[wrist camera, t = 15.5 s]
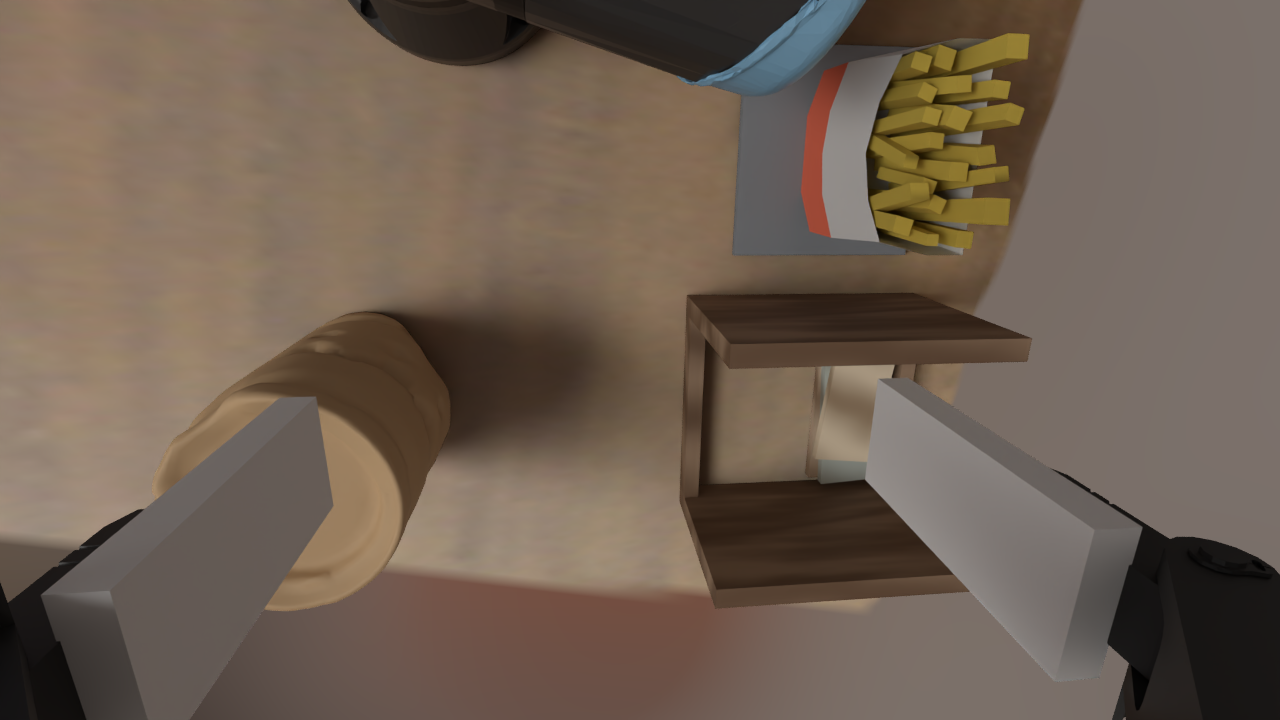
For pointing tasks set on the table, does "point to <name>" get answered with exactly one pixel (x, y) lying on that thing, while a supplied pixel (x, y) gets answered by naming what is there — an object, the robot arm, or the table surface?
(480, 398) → the table surface
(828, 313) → the offcut rack
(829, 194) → the french fries container
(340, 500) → the container
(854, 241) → the slate mat
